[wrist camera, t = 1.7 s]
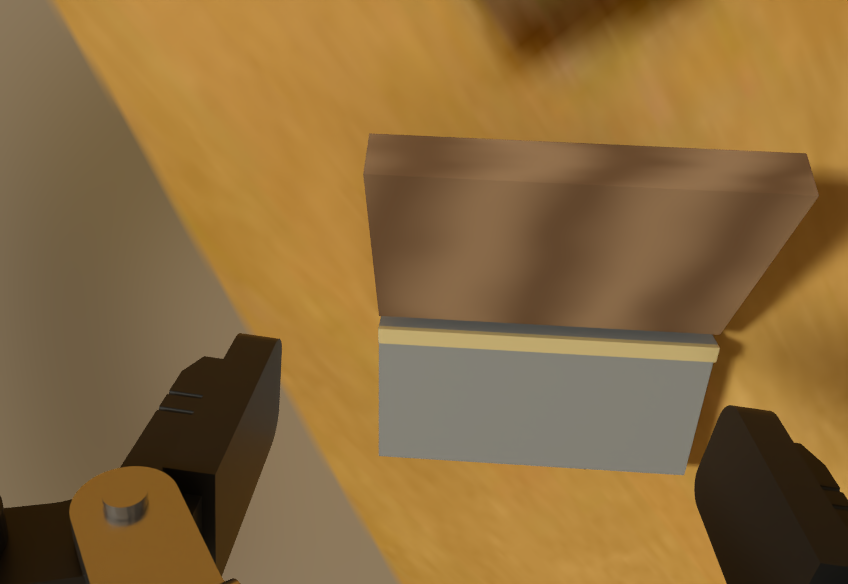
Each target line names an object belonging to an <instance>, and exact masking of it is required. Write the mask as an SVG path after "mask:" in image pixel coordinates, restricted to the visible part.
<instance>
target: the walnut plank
mask: <svg viewBox="0 0 848 584" xmlns="http://www.w3.org/2000/svg"><path fill="white" fill-rule="evenodd" d="M363 175H364V184H365V193H366V202H367V211H368V220H369V229H370V238H371V247H372V256H373V265H374V274H375V283H376V292H377V301H378V309H379V316H390V317H408V318H426V319H444V320H462V321H480V322H498V323H516V324H534V325H552V326H570V327H588V328H606V329H624V330H642V331H660V332H678V333H696V334H714V335H720V334H721V333H722V331H723V330H724V328H725V327H726V326H727V324H728V323H729V321H730V320H731V319H732V317H733V316H734V314H735V313H736V312H737V310H738V309H739V307H740V306H741V304H742V303H743V302H744V300H745V299H746V297H747V296H748V295H749V293H750V292H751V290H752V289H753V288H754V286H755V285H756V283H757V282H758V281H759V279H760V278H761V276H762V275H763V274H764V272H765V271H766V269H767V268H768V267H769V265H770V264H771V262H772V261H773V260H774V258H775V257H776V255H777V254H778V253H779V251H780V250H781V248H782V247H783V246H784V244H785V243H786V241H787V240H788V239H789V237H790V236H791V234H792V233H793V232H794V230H795V229H796V227H797V226H798V225H799V223H800V222H801V220H802V219H803V218H804V216H805V215H806V213H807V212H808V211H809V209H810V208H811V206H812V205H813V204H814V202H815V201H816V199H817V198H818V197H819V194H818V191H817V187H816V184H815V181H814V177H813V174H812V171H811V167H810V164H809V161H808V157H807V154H805V153H783V152H761V151H739V150H717V149H696V148H674V147H652V146H630V145H608V144H586V143H564V142H542V141H521V140H499V139H477V138H455V137H433V136H411V135H389V134H369V140H368V147H367V153H366V160H365V167H364V174H363Z"/></svg>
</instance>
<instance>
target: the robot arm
mask: <svg viewBox="0 0 848 584" xmlns="http://www.w3.org/2000/svg"><path fill="white" fill-rule="evenodd" d="M281 355H282V344H281V340H280V339H276V338H269V337H262V336H256V335H249V334H242V333H239V334H238V335H237V336H236V338H235V339H234V341H233V343H232V345H231V346H230V348H229V350H228V352H227V354H226V356H225V357H224V359H219V358H212V357H205V356H204V357H202V358H201V359H199V360H198V361H196V362H195V363H194V364H192V365H190V366H189V367H187V368H186V369H184V370H183V371H182V372H181V373H180V375H179V376H178V378H177V380H176V381H175V383H174V384H173V386H172V387H171V389H170V392H169V394H167V395H166V397H165V398H164V400H163V401H162V403H161V405H160V407H159V410H157V411H156V412H155V414H154V416H153V417H152V419H151V420H150V422H149V423H148V425H147V426H146V428H145V430H144V431H143V433H142V434H141V436H140V437H139V439H138V441H137V442H136V444H135V445H134V447H133V448H132V450H131V452H130V453H129V454H128V456H127V458H126V459H125V461H124V462H123V464H122V465H121V467H120V468H117V469H113V470H110V471H107V472H104V473H102V474H100V475H98V476H96V477H94V478H92V479H91V480H89V481H88V482H87V483H85V484H84V485H83V486H82V487H81V488H80V489H79V490H78V491H77V492H76V494H75V496H74V497H73V499H71V500H68V501H63V502H57V503H51V504H41V505H31V506H22V507H12V508H3V503H2V499H1V497H0V584H240V583H239V582H238V581H237V580H236V579H230V580H228V581H224V580H223V578H222V574H223V572H224V569H225V566H226V564H227V561H228V558H229V555H230V553H231V551H232V548H233V545H234V542H235V540H236V537H237V535H238V532H239V529H240V527H241V524H242V522H243V519H244V516H245V514H246V511H247V508H248V506H249V503H250V500H251V498H252V495H253V493H254V490H255V487H256V485H257V482H258V479H259V477H260V474H261V471H262V469H263V466H264V464H265V461H266V458H267V456H268V453H269V450H270V448H271V445H272V442H273V439H274V435H275V431H276V426H277V421H278V413H279V397H280V377H281ZM839 490H840V487H839V486H838V484H837V483H836V481H835V480H834V478H833V477H832V475H831V474H830V472H829V470H828V469H827V467H826V466H825V465H824V464H823V463H822V462H821V461H820V460H819V459H817V458H816V457H815V456H814V455H813V454H812V453H811V452H810V451H808V450H807V449H806V448H805V447H804V446H803V445H802V444H800V443H794V442H793V441H792V439H791V438H790V436H789V434H788V433H787V431H786V429H785V428H784V426H783V425H782V423H781V421H780V420H779V418H778V417H777V415H776V414H775V413H774V412H772V411H766V410H759V409H752V408H745V407H738V406H731V405H729V406H727V407H725V408H724V409H723V411H722V412H721V414H720V416H719V418H718V421H717V423H716V426H715V428H714V431H713V433H712V435H711V438H710V440H709V443H708V445H707V448H706V450H705V453H704V455H703V458H702V460H701V462H700V465H699V467H698V470H697V473H696V478H695V500H696V505H697V508H698V510H699V513H700V515H701V518H702V521H703V523H704V526H705V528H706V531H707V534H708V536H709V539H710V541H711V544H712V546H713V549H714V552H715V554H716V557H717V559H718V562H719V565H720V567H721V570H722V572H723V575H724V578H725V580H726V583H727V584H848V500H847V498H846V497H845V495H844V494H843V493H842V492H840V491H839Z"/></svg>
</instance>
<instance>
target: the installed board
mask: <svg viewBox="0 0 848 584" xmlns="http://www.w3.org/2000/svg"><path fill="white" fill-rule="evenodd" d="M378 343H379V456H388V457H404V458H420V459H436V460H452V461H468V462H483V463H499V464H515V465H531V466H547V467H563V468H579V469H594V470H610V471H626V472H642V473H658V474H674V475H684V473H685V470H686V466H687V462H688V458H689V454H690V450H691V446H692V443H693V439H694V435H695V431H696V427H697V423H698V420H699V416H700V412H701V408H702V404H703V400H704V396H705V393H706V389H707V385H708V381H709V377H710V373H711V369H712V366H713V362H716V361H717V357H718V353H719V350H720V347H719V346H718V344H717V342H716V340H715V339H714V337H713V335H712V334H696V333H678V332H660V331H642V330H624V329H606V328H588V327H570V326H552V325H534V324H516V323H498V322H480V321H462V320H444V319H426V318H408V317H390V316H381V319H380V324H379V328H378Z"/></svg>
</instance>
